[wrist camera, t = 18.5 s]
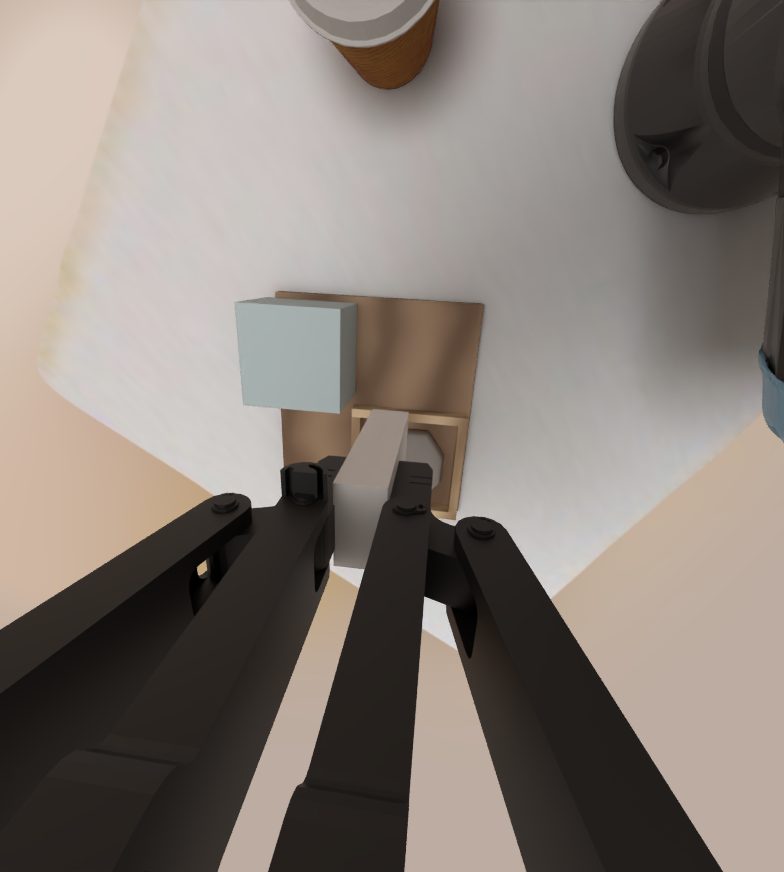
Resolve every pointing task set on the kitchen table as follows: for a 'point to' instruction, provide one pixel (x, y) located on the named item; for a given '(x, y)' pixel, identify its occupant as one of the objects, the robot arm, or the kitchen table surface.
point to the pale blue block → (297, 353)
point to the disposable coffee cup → (376, 35)
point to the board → (400, 383)
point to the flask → (425, 452)
